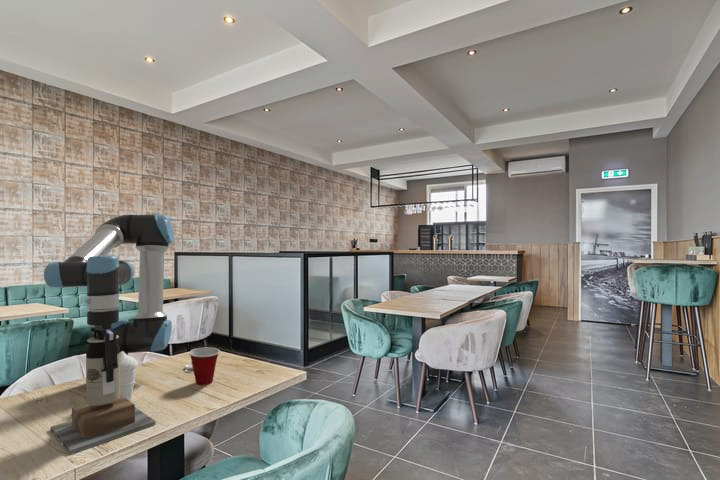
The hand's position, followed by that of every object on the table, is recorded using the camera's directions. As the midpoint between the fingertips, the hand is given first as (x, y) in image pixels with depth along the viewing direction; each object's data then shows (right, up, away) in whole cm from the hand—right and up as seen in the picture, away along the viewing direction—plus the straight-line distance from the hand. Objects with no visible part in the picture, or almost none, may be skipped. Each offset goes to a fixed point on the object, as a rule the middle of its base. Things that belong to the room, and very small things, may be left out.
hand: (103, 389), depth 108 cm
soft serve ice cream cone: (-7, -11, +20) cm, 24 cm away
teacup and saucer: (+4, -12, +53) cm, 55 cm away
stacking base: (0, -11, 0) cm, 11 cm away
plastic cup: (+15, -11, +34) cm, 39 cm away
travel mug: (0, -3, 0) cm, 3 cm away
